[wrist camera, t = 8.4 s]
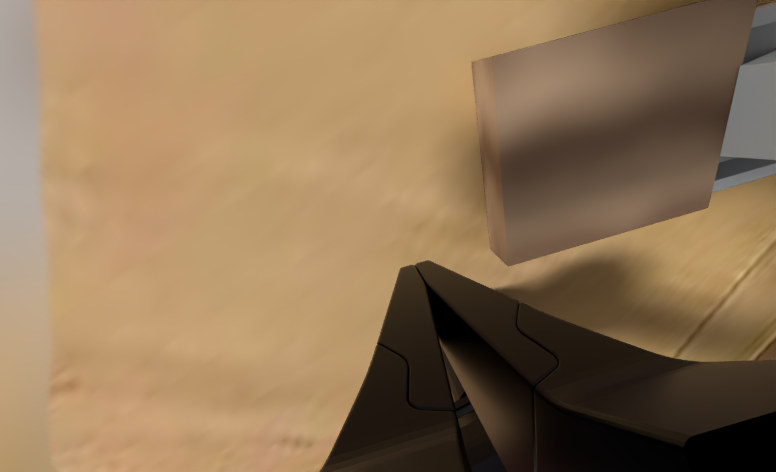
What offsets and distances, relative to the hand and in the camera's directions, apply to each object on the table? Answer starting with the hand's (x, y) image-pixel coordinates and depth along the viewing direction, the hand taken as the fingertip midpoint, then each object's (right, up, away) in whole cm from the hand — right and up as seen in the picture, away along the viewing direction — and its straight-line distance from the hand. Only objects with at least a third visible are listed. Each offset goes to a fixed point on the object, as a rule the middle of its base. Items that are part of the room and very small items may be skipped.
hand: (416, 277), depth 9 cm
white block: (+21, +9, +10) cm, 25 cm away
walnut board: (+12, +7, +11) cm, 18 cm away
